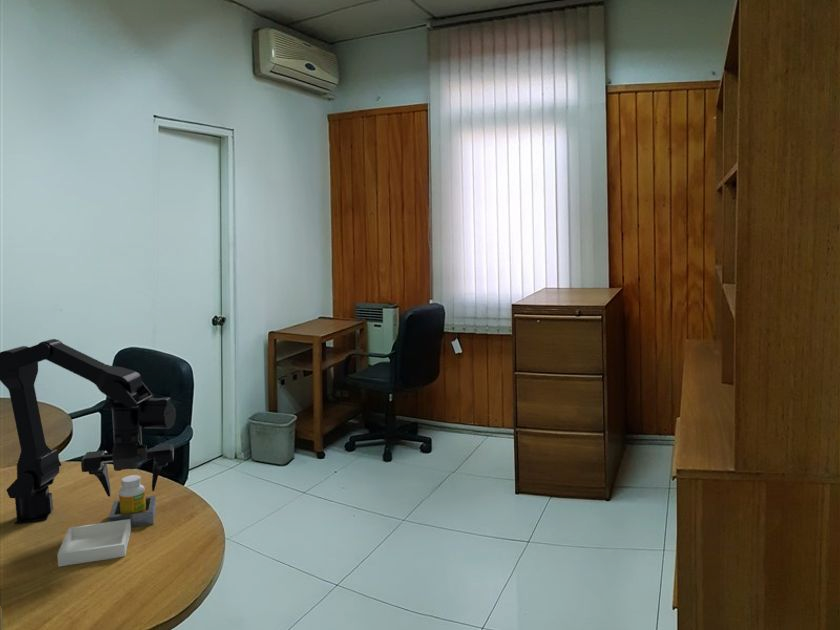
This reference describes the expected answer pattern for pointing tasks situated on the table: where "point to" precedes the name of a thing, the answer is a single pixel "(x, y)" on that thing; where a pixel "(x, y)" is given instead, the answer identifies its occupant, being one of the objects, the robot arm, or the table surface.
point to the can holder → (135, 513)
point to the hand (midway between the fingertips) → (131, 493)
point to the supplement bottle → (132, 495)
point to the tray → (94, 542)
